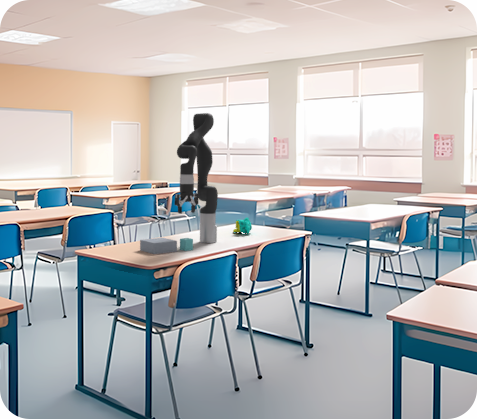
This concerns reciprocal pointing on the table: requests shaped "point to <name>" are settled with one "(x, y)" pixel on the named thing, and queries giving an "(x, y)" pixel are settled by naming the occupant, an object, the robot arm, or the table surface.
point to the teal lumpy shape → (243, 226)
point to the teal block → (186, 244)
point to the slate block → (158, 245)
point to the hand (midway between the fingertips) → (186, 213)
